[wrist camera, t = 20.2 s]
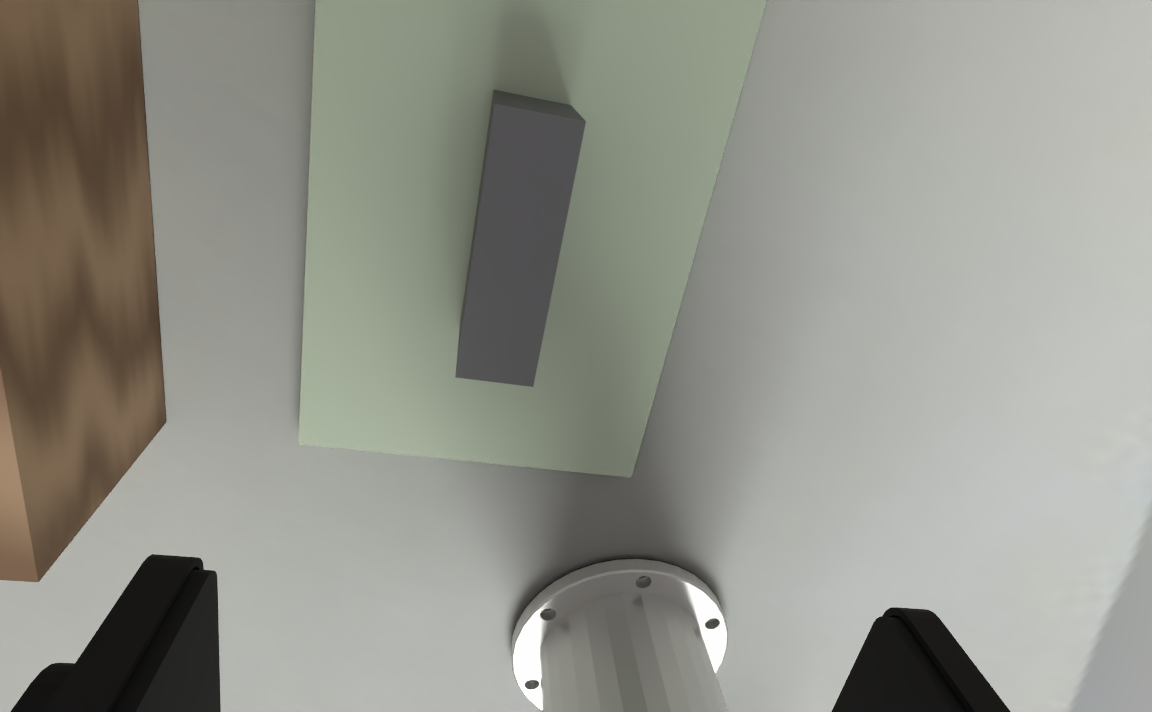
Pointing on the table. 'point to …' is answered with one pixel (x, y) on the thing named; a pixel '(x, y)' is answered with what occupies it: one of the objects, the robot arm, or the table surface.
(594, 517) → the table surface
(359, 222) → the toolbox lid
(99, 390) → the toolbox
